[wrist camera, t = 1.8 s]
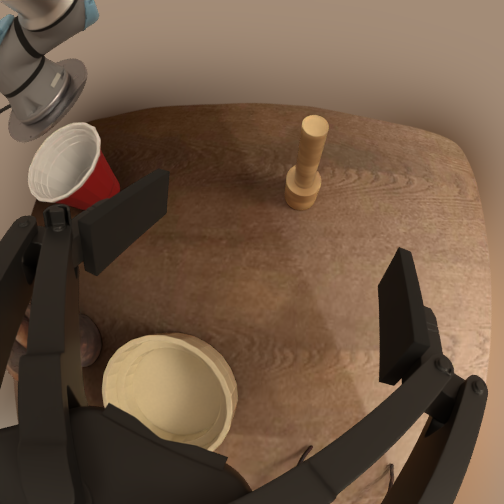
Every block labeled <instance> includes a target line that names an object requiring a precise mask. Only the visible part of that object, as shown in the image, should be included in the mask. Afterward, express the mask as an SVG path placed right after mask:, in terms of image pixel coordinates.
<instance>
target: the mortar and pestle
mask: <svg viewBox="0 0 504 504" xmlns="http://www.w3.org/2000/svg"><path fill="white" fill-rule="evenodd" d="M30 308H31V305H28V307H27V310H26V312H25V315H24V317H23V320H22V322H21V325H20V328H19V330H18V333H17V336H16V339H15V342H14V345H13V348H12V351H11V354H10V357H9V360H8V363H7V367H6V370H7V371H8V373H9V374H10V375H11V376H12V377H13V379H15V380H16V381H18V370H19V359H20V357H21V355H26V351H27V338H28V326H29V317H30ZM79 333H80V351H81V365H82V367H87V366H89V365H91V364H93V363H94V362H95V360H96V359H97V357H98V356H99V354H100V351H101V347H102V345H101V344H102V342H101V336H100V333H99V331H98V329H97V327H96V325H95V324H94V323H93V321H92V320H91V319H90V318H89V317H88V316H86V315H83V314H79Z"/></svg>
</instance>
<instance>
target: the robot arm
mask: <svg viewBox="0 0 504 504" xmlns="http://www.w3.org/2000/svg"><path fill="white" fill-rule="evenodd" d="M0 2H1V3H3V4H5V5H6V6H8V7H9V8H11V9H13V10H14V11H16V12H17V13H18V16H17V17H15V18H14V15H11V14H9V15H7V16H5V17H4V18H2V19H1V20H0V92H1V93H2V94H3V95H4V96H5V97H6V98H7V99H8V101H9V103H10V104H9V105H7V106H5V107H4V108H2V109H0V113H2V112H3V111H5V110H7V109H9V108H11V107H12V109H13V112H14V114H15V116H16V118H17V119H18V120H19V121H20V122H22V123H23V124H26V125H28V124H33V123H35V122H37V121H39V120H41V119H42V118H44V117H45V116H46V115H47V114H49V113H50V112H51V111H52V110H53V109H54V108H55V107H56V106H57V104H58V103H59V102H60V101H61V99H62V98H63V96H64V95H65V93H66V91H67V89H68V87H69V84H70V74H69V73H68V71H67V70H66V69H65V68H64V67H62V66H60V65H58V64H56V63H54V62H52V61H51V60H49V59H47V58H45V56H44V55H45V54H46V53H48V52H49V51H50V50H52V49H53V48H55V47H56V46H58V45H59V44H61V43H63V42H64V41H66V40H67V39H69V38H70V37H72V36H74V35H75V34H77V33H79V32H80V31H84V30H85V29H86V28H87V27H89V26H90V25H92V24H94V23H95V22H96V21H97V20H98V17H99V13H98V10H97V7H96V5H95V2H94V0H0ZM169 173H170V172H169V171H166V170H162V169H157V170H155V171H153V172H152V173H150V174H148V175H146V176H145V177H143V178H141V179H140V180H138V181H137V182H135V183H133V184H132V185H130V186H128V187H127V188H125V189H124V190H122V191H120V192H119V193H117V194H116V195H114V196H113V197H111V198H110V199H109V198H106V199H103V200H100V201H98V202H96V203H95V204H93V205H92V206H91V207H89V208H87V209H86V210H84V211H83V212H81V213H80V214H78V215H77V216H75V217H74V218H73V219H71V215H70V208H69V206H67V205H65V204H55V205H52V206H49V207H48V208H46V209H45V210H44V212H43V216H44V222H45V227H42V226H37V222H36V218H35V217H33V216H23V217H20V218H19V219H17V220H16V221H15V222H14V223H13V224H12V226H11V227H10V229H9V230H8V231H7V233H6V234H5V235H4V237H3V238H2V240H1V241H0V388H1V384H2V381H3V377H4V374H5V370H6V367H7V363H8V360H9V357H10V354H11V351H12V348H13V345H14V342H15V339H16V336H17V333H18V330H19V328H20V325H21V322H22V320H23V317H24V315H25V312H26V310H27V307H28V305H29V302H30V300H31V297H32V301H31V308H30V317H29V326H28V338H27V351H26V355H21V357H20V359H19V370H18V417H19V424H18V425H14V426H11V427H7V428H2V429H0V504H330V503H331V502H333V501H334V500H335V499H336V496H337V495H338V494H339V493H340V492H341V491H342V490H343V489H345V488H346V487H347V486H348V485H350V484H351V483H352V482H353V481H355V480H356V479H357V478H358V477H359V476H360V475H362V474H363V473H364V472H365V471H366V470H367V469H368V468H370V467H371V466H372V465H373V464H374V463H375V462H376V461H377V460H378V459H379V458H380V457H382V456H383V455H384V454H385V453H386V452H387V451H388V450H389V449H390V448H391V447H392V446H393V445H394V444H395V443H396V442H397V441H398V440H399V439H400V438H401V437H402V436H403V435H404V434H405V433H406V431H407V430H408V429H409V428H410V427H411V426H412V425H413V424H414V423H415V422H416V421H417V419H418V418H419V417H420V416H421V415H422V414H423V413H424V412H425V413H426V414H428V415H429V417H428V419H427V422H426V424H425V426H424V428H423V430H422V432H421V434H420V436H419V439H418V441H417V443H416V445H415V446H414V448H413V450H412V452H411V454H410V456H409V458H408V460H407V462H406V463H405V465H404V467H403V469H402V470H401V472H400V474H399V476H398V477H397V479H396V481H395V482H394V484H393V486H392V487H391V489H390V491H389V492H388V494H387V495H386V497H385V498H384V500H383V501H382V503H381V504H453V503H454V500H455V498H456V496H457V493H458V491H459V489H460V486H461V484H462V481H463V478H464V476H465V473H466V471H467V468H468V465H469V462H470V459H471V456H472V453H473V450H474V447H475V444H476V440H477V437H478V433H479V430H480V426H481V422H482V418H483V415H484V410H485V406H486V401H487V397H488V389H487V386H486V384H485V382H484V381H483V380H482V379H481V378H480V377H479V376H477V375H471V376H469V377H468V378H467V379H466V380H464V379H462V378H461V377H459V376H457V375H456V374H454V368H453V365H452V363H451V361H450V360H449V359H448V358H447V357H446V356H445V355H443V352H442V346H441V341H440V335H439V334H438V333H439V330H438V327H437V326H438V325H437V321H436V317H435V315H434V313H433V312H432V310H431V308H428V307H425V306H424V305H423V300H422V295H421V291H420V286H419V282H418V278H417V273H416V269H415V265H414V261H413V257H412V254H411V252H410V251H408V250H405V249H403V248H400V247H399V248H398V250H397V252H396V254H395V256H394V257H393V259H392V261H391V263H390V265H389V267H388V269H387V270H386V272H385V274H384V276H383V278H382V280H381V281H380V283H379V285H378V297H379V327H380V367H379V382H382V383H386V384H389V385H393V386H394V385H395V384H396V383H397V382H398V381H399V380H400V379H401V378H402V385H401V386H400V387H399V388H398V389H397V390H396V391H395V392H393V393H392V394H391V395H390V396H389V397H388V398H387V399H386V400H384V401H383V402H382V403H381V404H380V405H379V406H378V407H376V408H375V409H374V410H373V411H372V412H371V413H369V414H368V415H367V416H366V417H364V418H363V419H362V420H361V421H360V422H358V423H357V424H356V425H355V426H353V427H352V428H351V429H349V430H348V431H347V432H345V433H344V434H343V435H342V436H340V437H339V438H337V439H336V440H335V441H333V442H332V443H331V444H329V445H328V446H326V447H325V448H324V449H322V450H321V451H319V452H318V453H316V454H315V455H313V456H312V457H310V458H309V459H307V460H305V461H304V462H302V463H300V464H299V465H297V466H296V467H294V468H292V469H291V470H289V471H288V472H286V473H284V474H283V475H281V476H279V477H278V478H276V479H274V480H272V481H271V482H269V483H267V484H265V485H264V486H262V487H260V488H258V489H256V490H254V491H252V490H251V488H250V486H249V485H248V483H247V482H246V480H245V479H244V478H243V477H242V476H241V475H240V474H239V473H238V472H237V471H236V470H235V469H234V468H232V467H231V466H229V465H228V464H226V461H227V458H228V457H226V456H223V455H220V454H217V453H215V452H212V451H209V450H207V449H204V448H202V447H199V446H197V445H191V444H185V443H180V442H175V441H170V440H165V439H162V438H160V437H159V436H157V435H156V434H155V433H154V432H152V431H151V430H150V429H149V428H148V427H146V426H145V425H144V424H143V423H142V422H140V421H139V420H138V419H137V418H136V417H134V416H132V415H131V414H129V413H127V412H125V411H123V410H121V409H120V408H118V407H116V406H114V405H113V404H111V403H108V405H107V406H106V408H102V407H96V406H88V403H87V400H86V397H85V392H84V385H83V376H82V365H81V351H80V333H79V266H78V265H79V264H80V263H81V262H82V261H84V267H85V271H87V272H89V273H91V274H93V275H95V276H98V275H99V274H100V273H101V272H102V271H103V270H104V269H105V268H106V267H107V266H108V265H109V264H110V263H111V262H113V261H114V260H115V259H116V258H117V257H118V256H119V255H120V254H121V253H122V252H123V251H124V250H126V249H127V248H128V247H129V246H130V245H131V244H132V243H133V242H134V241H136V240H137V239H138V238H139V237H140V236H141V235H142V234H143V233H145V232H146V231H147V230H148V229H149V228H150V227H151V226H153V225H154V224H155V223H156V222H157V221H158V220H159V219H161V218H162V217H163V216H164V215H165V214H166V213H167V198H168V185H169Z"/></svg>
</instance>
